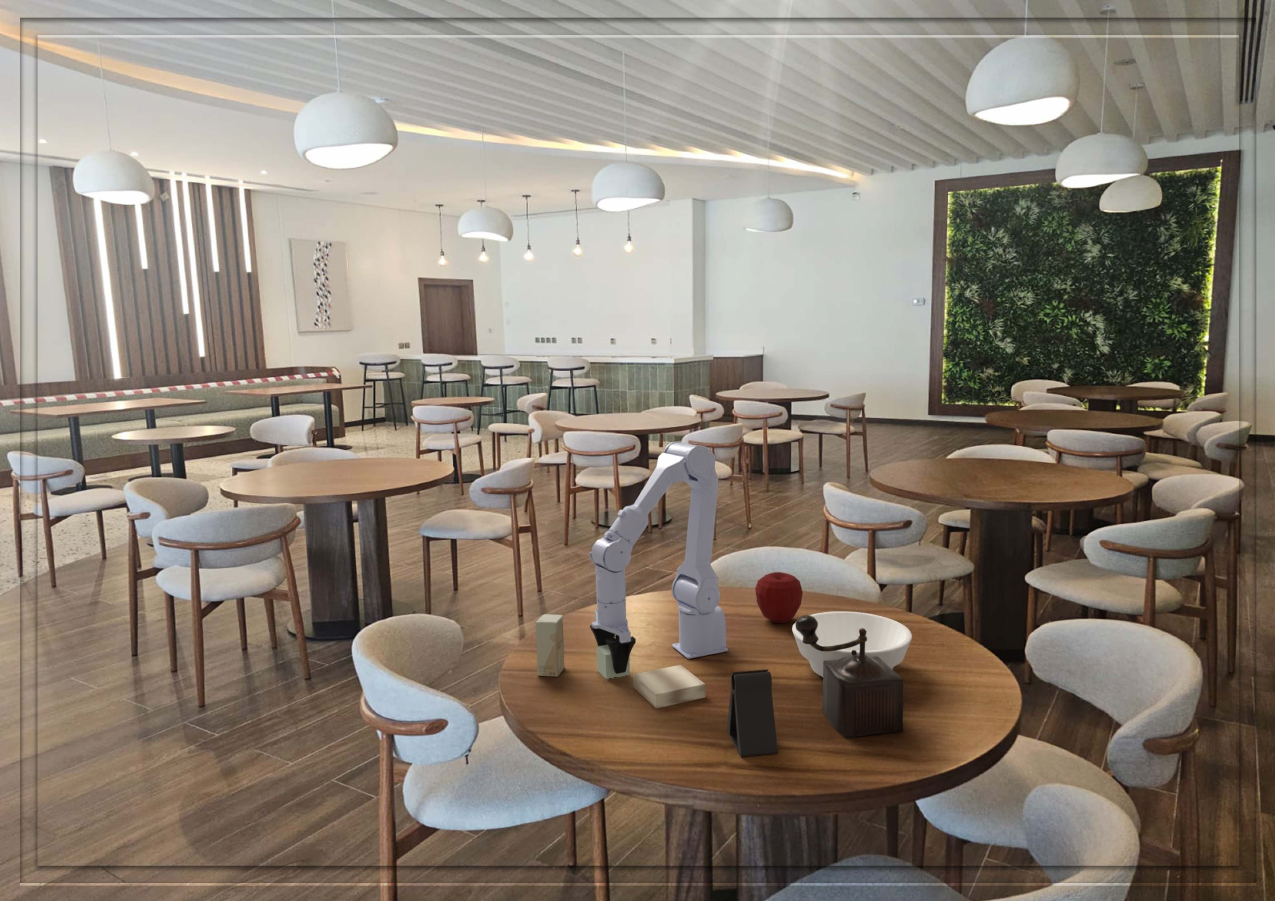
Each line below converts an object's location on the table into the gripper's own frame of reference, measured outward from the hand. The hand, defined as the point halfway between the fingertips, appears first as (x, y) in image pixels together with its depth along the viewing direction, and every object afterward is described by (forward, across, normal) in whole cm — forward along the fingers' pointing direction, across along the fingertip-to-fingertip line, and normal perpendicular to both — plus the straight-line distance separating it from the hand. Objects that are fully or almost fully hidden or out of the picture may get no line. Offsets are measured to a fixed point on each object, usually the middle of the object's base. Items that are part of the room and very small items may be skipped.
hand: (613, 665), depth 160 cm
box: (+2, -6, -11) cm, 13 cm away
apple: (+2, -10, +45) cm, 46 cm away
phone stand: (+2, +36, +10) cm, 37 cm away
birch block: (+2, +13, +6) cm, 14 cm away
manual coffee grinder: (+2, +37, +28) cm, 46 cm away
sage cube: (+2, 0, 0) cm, 2 cm away
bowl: (+2, +20, +42) cm, 47 cm away
